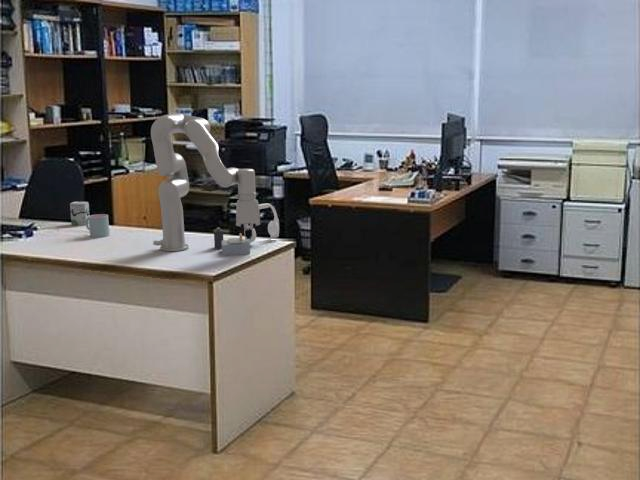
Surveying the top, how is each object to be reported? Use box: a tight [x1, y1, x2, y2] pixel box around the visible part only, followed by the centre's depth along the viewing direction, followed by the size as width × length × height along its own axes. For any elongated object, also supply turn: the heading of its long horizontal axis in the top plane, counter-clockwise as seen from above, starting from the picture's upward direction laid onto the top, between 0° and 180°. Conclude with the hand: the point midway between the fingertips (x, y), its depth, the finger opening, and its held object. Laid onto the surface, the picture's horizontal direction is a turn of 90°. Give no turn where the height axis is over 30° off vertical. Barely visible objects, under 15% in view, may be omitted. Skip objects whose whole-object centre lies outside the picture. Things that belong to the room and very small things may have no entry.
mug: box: [85, 213, 110, 239], centre depth 406 cm, size 14×9×10 cm
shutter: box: [227, 232, 243, 244], centre depth 362 cm, size 6×8×3 cm
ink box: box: [69, 201, 90, 226], centre depth 437 cm, size 9×5×12 cm, turn 81°
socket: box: [221, 238, 251, 256], centre depth 363 cm, size 12×10×4 cm
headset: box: [243, 203, 280, 245], centre depth 382 cm, size 20×7×18 cm, turn 138°
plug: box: [213, 227, 224, 250], centre depth 372 cm, size 4×4×9 cm
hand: (248, 238), depth 363 cm, fingers closed
